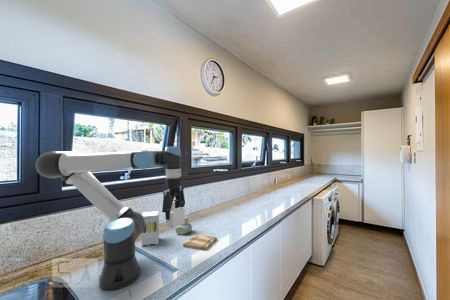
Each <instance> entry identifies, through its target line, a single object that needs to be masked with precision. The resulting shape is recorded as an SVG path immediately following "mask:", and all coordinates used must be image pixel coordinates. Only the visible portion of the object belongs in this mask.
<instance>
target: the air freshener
mask: <svg viewBox="0 0 450 300" xmlns="http://www.w3.org/2000/svg"><path fill="white" fill-rule="evenodd" d="M192 229H193V226H192V224H191V223H189V217H188V216H186V215H185V224H182V225H180V226H177V227H174V232H175V233H177V234H178V235H182V236H184V235H187V234H188V233H189V234H190V233H191V232H192ZM183 234H184V235H183Z"/></svg>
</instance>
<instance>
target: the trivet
mask: <svg viewBox="0 0 450 300" xmlns="http://www.w3.org/2000/svg"><path fill="white" fill-rule="evenodd" d="M216 241H217V236H209V235H203V234H197V233H196V234H194V235H193V236H192V237H190V238H189V239H187V240H186V241H185V242H184V243H182V247H183V248H188V249H195V250H199V251H204V252H205V251H207V250H208V249H209V248H210V247H211V246H212V245H213V244H215V242H216Z"/></svg>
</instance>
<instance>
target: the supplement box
mask: <svg viewBox="0 0 450 300" xmlns="http://www.w3.org/2000/svg"><path fill="white" fill-rule="evenodd" d="M159 212H160V211H159V210H155V211H143V212H142V213H141V214H142V215H143V216H144V218H145V227H144V230H143V232H142V233H141V234H140V236H141V237H140V239H141V241H140V243H141V244H140V245H147V246H151V245H150V244H155V245H159V243H160V241H159V240H160V230H159V229H160V222H159V221H160V219H159V218H160V214H159Z"/></svg>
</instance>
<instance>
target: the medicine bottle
mask: <svg viewBox="0 0 450 300" xmlns="http://www.w3.org/2000/svg"><path fill="white" fill-rule="evenodd" d="M180 208H181V201H180V200H176V199H173V203H172V207H171V211H170V212H172V226H169V227H170V228H173V229H175V227H177V226H180V225H182V224H185V216H186V215H185V213H186V212H185V209H184V208H183V209H180ZM164 226H166V213H165V212H164Z"/></svg>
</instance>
